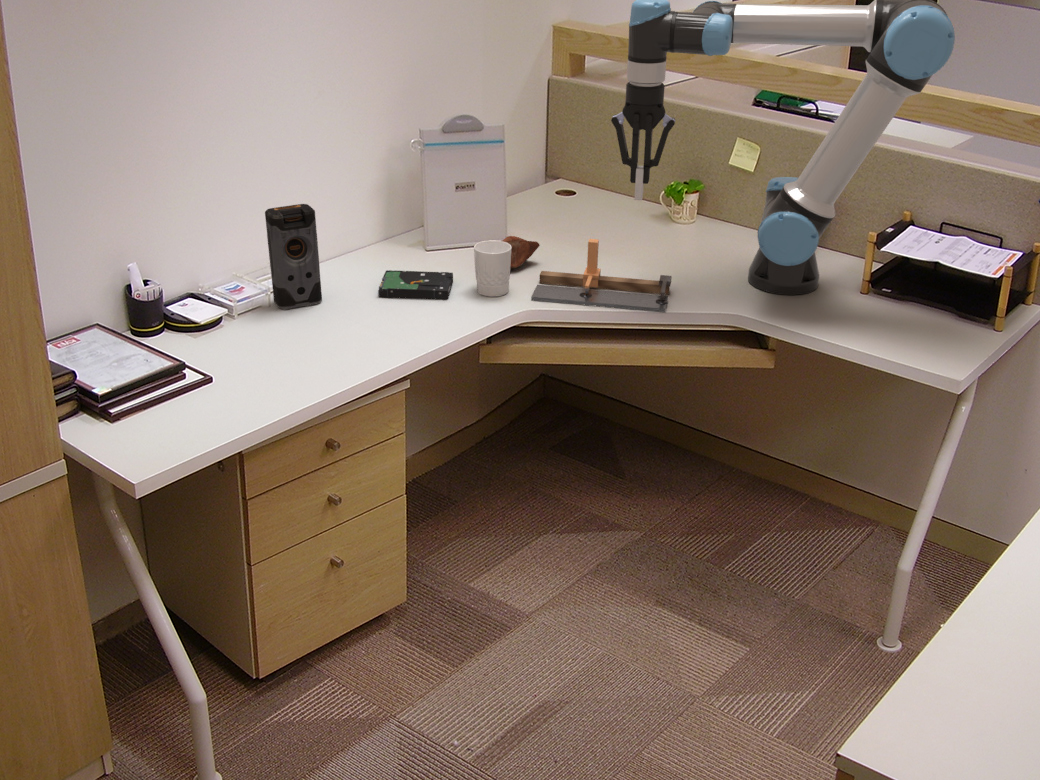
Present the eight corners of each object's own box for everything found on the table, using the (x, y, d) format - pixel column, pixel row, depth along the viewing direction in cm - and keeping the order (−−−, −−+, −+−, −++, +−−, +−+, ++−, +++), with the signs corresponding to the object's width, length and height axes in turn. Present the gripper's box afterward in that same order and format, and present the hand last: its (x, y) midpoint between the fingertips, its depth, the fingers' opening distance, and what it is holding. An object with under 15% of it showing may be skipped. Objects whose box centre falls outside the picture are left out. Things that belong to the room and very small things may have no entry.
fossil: (542, 244, 246) (527, 216, 238) (546, 271, 241) (532, 244, 233) (490, 261, 248) (474, 234, 241) (494, 289, 244) (477, 262, 236)
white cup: (506, 299, 226) (507, 254, 221) (470, 296, 227) (469, 251, 223) (514, 285, 233) (514, 241, 228) (479, 282, 234) (478, 238, 230)
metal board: (669, 299, 227) (669, 295, 227) (666, 312, 221) (666, 308, 221) (537, 288, 232) (537, 284, 231) (531, 300, 226) (531, 296, 225)
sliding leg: (600, 280, 235) (602, 238, 230) (593, 297, 226) (596, 254, 221) (585, 278, 235) (587, 236, 231) (578, 296, 226) (580, 253, 222)
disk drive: (453, 283, 235) (385, 281, 235) (453, 271, 234) (385, 269, 234) (448, 302, 226) (378, 299, 226) (448, 290, 225) (377, 287, 225)
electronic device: (280, 311, 219) (271, 217, 210) (272, 301, 224) (262, 208, 214) (324, 303, 223) (317, 210, 214) (315, 293, 228) (307, 202, 218)
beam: (670, 289, 232) (671, 275, 230) (667, 307, 224) (668, 292, 222) (541, 278, 237) (542, 264, 235) (533, 295, 228) (534, 281, 227)
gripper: (680, 79, 214) (671, 194, 225) (614, 76, 216) (609, 190, 227) (677, 87, 207) (668, 205, 218) (610, 84, 210) (605, 201, 221)
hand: (638, 198), depth 223 cm, fingers closed
